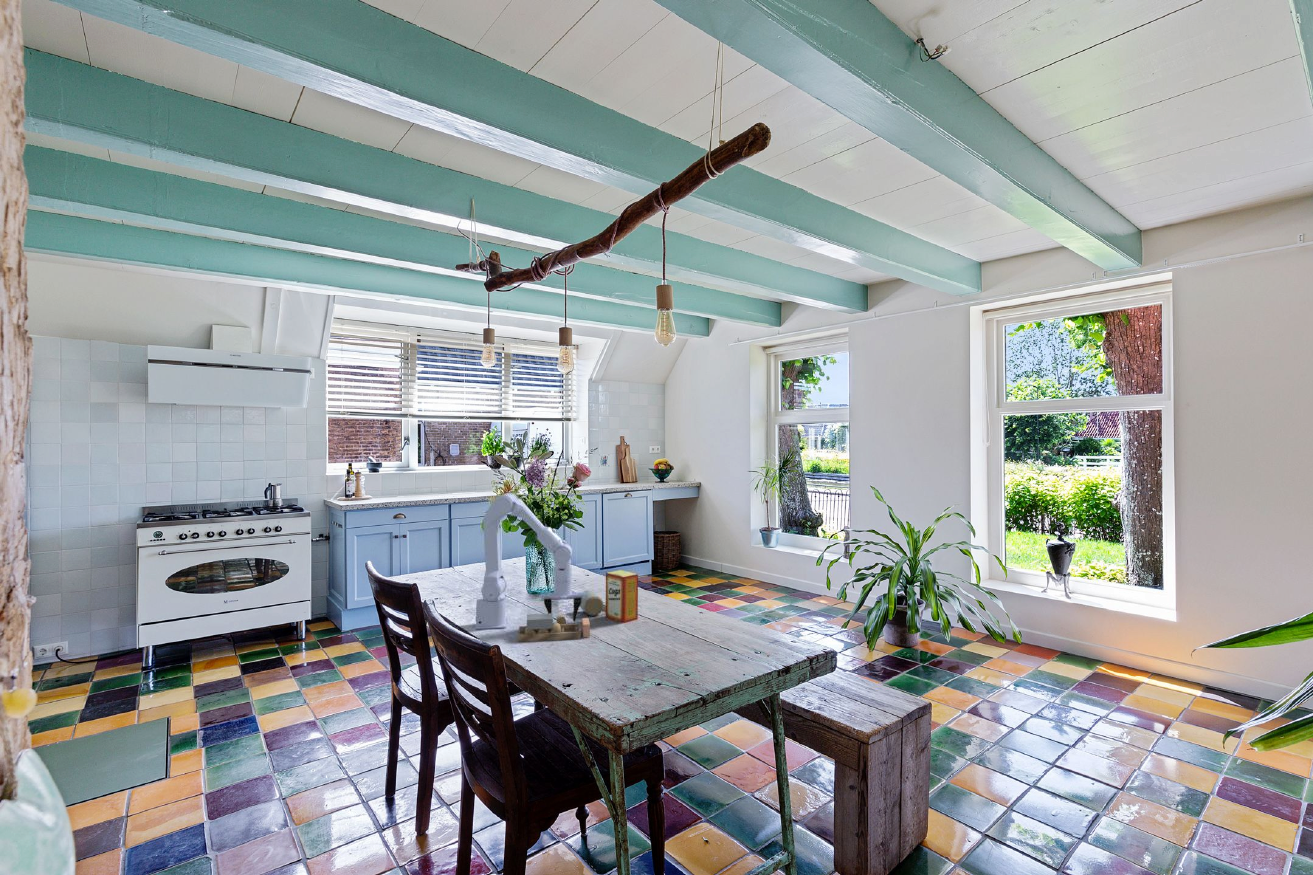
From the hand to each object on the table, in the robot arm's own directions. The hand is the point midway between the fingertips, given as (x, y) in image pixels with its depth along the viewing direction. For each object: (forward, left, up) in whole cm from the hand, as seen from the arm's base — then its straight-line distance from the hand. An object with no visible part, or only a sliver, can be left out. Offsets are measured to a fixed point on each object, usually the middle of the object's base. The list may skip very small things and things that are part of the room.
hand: (562, 621), depth 211 cm
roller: (0, 0, -2) cm, 2 cm away
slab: (-8, -10, +2) cm, 13 cm away
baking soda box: (+20, +5, -2) cm, 21 cm away
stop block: (+7, -10, -1) cm, 12 cm away
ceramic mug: (+12, +13, -2) cm, 18 cm away
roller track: (-5, -10, -1) cm, 11 cm away
